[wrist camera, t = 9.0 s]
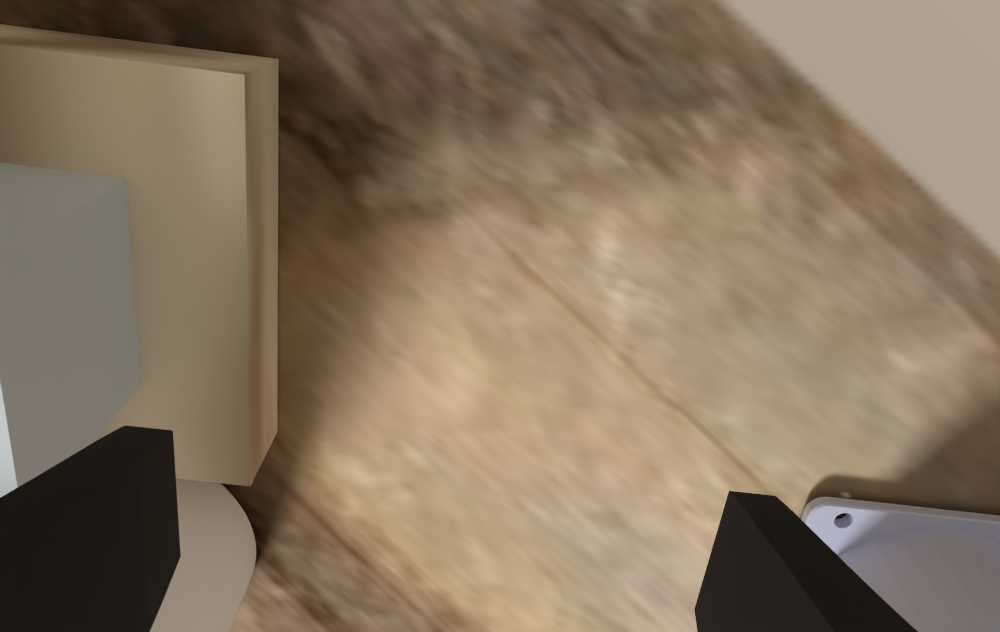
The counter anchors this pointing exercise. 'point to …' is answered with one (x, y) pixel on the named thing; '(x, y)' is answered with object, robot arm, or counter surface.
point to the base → (173, 220)
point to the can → (208, 561)
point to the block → (62, 315)
